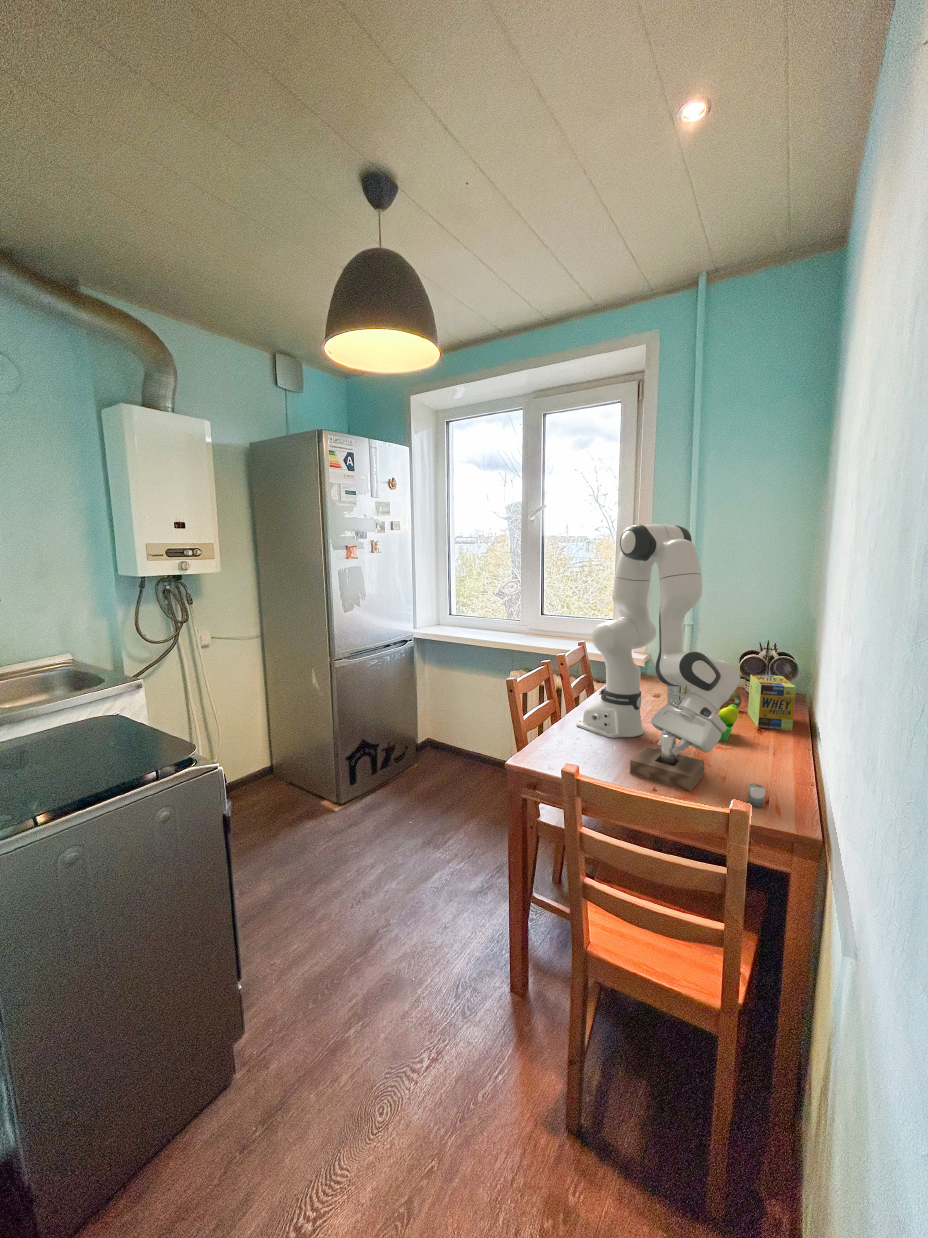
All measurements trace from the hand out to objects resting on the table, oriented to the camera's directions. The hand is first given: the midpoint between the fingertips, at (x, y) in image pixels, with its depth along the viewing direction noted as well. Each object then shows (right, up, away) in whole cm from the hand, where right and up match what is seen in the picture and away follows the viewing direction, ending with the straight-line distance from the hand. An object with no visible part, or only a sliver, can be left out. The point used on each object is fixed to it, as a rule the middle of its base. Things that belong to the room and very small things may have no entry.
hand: (666, 750), depth 131 cm
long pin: (+1, -6, +1) cm, 6 cm away
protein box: (+53, -1, +39) cm, 66 cm away
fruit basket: (+30, -3, +27) cm, 41 cm away
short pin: (+15, -9, -15) cm, 23 cm away
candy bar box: (+25, 0, +49) cm, 55 cm away
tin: (+44, +1, +55) cm, 70 cm away
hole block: (+1, -7, +1) cm, 7 cm away
